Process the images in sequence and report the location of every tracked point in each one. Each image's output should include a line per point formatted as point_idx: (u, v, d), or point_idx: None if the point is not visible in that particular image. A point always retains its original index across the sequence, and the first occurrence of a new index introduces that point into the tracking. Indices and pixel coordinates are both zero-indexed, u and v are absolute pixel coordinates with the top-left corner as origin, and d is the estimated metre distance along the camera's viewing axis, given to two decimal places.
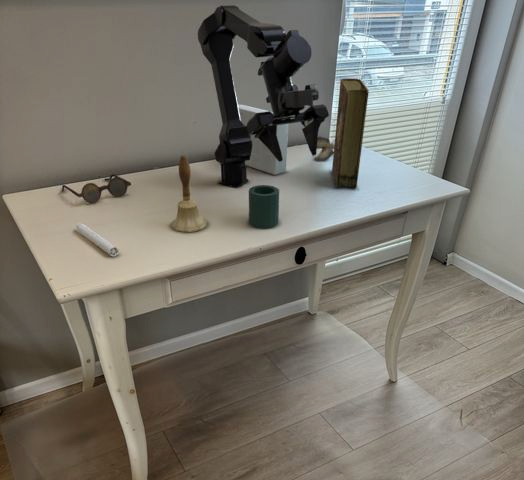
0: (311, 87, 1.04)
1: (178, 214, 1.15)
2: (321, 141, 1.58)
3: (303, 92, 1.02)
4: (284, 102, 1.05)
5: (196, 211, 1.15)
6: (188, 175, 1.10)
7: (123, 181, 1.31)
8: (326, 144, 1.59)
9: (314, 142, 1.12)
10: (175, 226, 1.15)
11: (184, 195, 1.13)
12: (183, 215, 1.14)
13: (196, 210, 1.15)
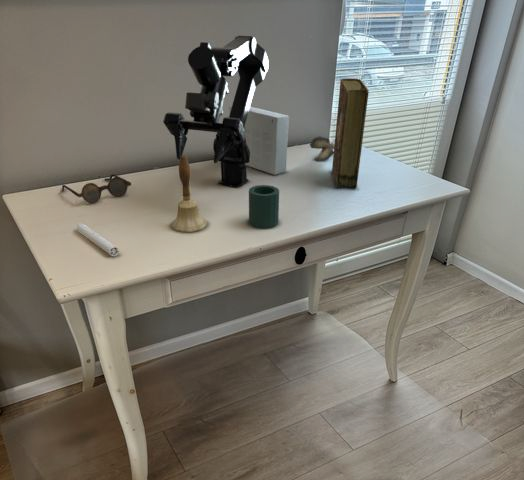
0: (209, 93, 1.09)
1: (178, 214, 1.15)
2: (321, 141, 1.58)
3: (193, 94, 1.08)
4: None
5: (196, 211, 1.15)
6: (188, 175, 1.10)
7: (123, 181, 1.31)
8: (326, 144, 1.59)
9: (216, 150, 1.13)
10: (175, 226, 1.15)
11: (184, 195, 1.13)
12: (183, 215, 1.14)
13: (196, 210, 1.15)
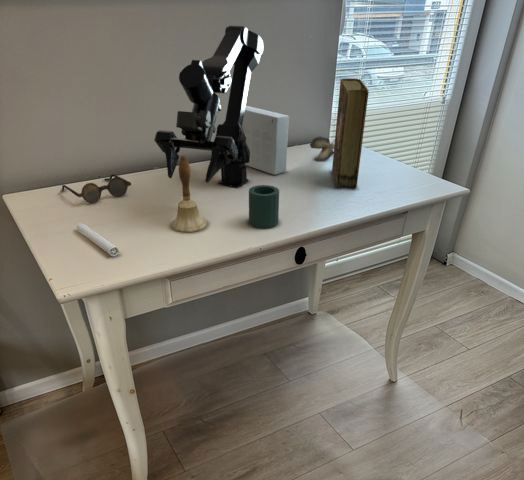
0: (200, 112, 1.06)
1: (178, 214, 1.15)
2: (321, 141, 1.58)
3: (184, 113, 1.06)
4: None
5: (196, 211, 1.15)
6: (188, 175, 1.10)
7: (123, 181, 1.31)
8: (326, 144, 1.59)
9: (208, 169, 1.11)
10: (175, 226, 1.15)
11: (184, 195, 1.13)
12: (183, 215, 1.14)
13: (196, 210, 1.15)
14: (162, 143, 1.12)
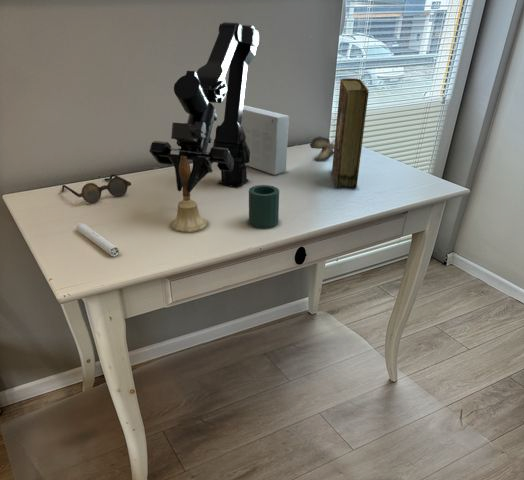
0: (196, 124, 1.05)
1: (178, 214, 1.15)
2: (321, 141, 1.58)
3: (179, 125, 1.05)
4: None
5: (196, 211, 1.15)
6: (188, 175, 1.10)
7: (123, 181, 1.31)
8: (326, 144, 1.59)
9: (189, 179, 1.11)
10: (175, 226, 1.15)
11: (184, 195, 1.13)
12: (183, 215, 1.14)
13: (196, 210, 1.15)
14: (171, 156, 1.10)
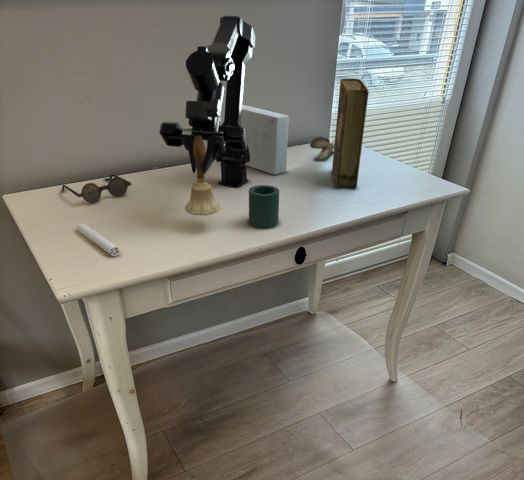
0: (211, 101, 1.02)
1: (192, 197, 1.11)
2: (321, 141, 1.58)
3: (194, 103, 1.01)
4: None
5: (211, 193, 1.12)
6: (203, 156, 1.07)
7: (123, 181, 1.31)
8: (326, 144, 1.59)
9: (205, 160, 1.07)
10: (190, 210, 1.12)
11: (199, 177, 1.09)
12: (198, 198, 1.11)
13: (211, 192, 1.12)
14: (184, 136, 1.07)
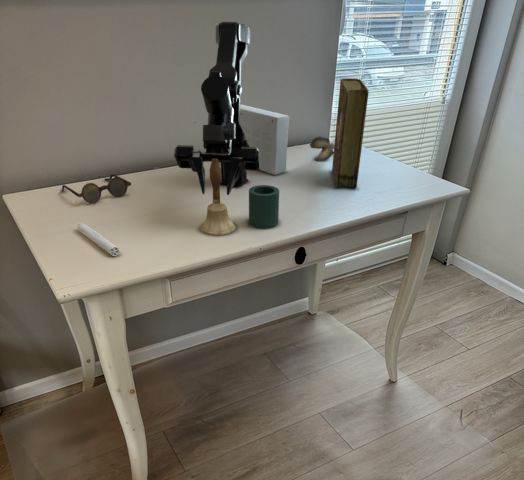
0: (227, 124, 1.04)
1: (209, 218, 1.14)
2: (321, 141, 1.58)
3: (211, 127, 1.03)
4: None
5: (227, 213, 1.14)
6: (220, 177, 1.09)
7: (123, 181, 1.31)
8: (326, 144, 1.59)
9: (228, 181, 1.09)
10: (208, 230, 1.14)
11: (215, 198, 1.12)
12: (215, 218, 1.13)
13: (227, 212, 1.14)
14: (192, 158, 1.08)
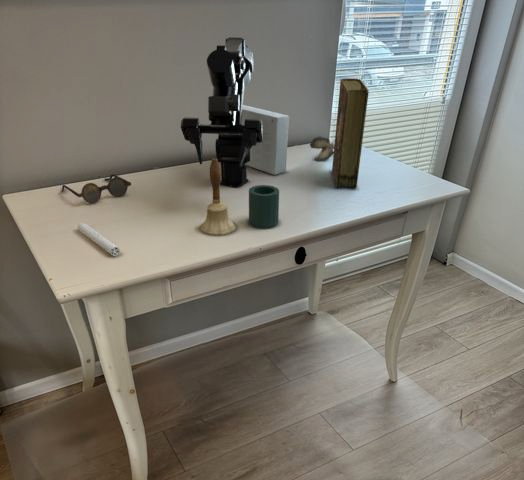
0: (231, 96, 1.09)
1: (209, 218, 1.14)
2: (321, 141, 1.58)
3: (216, 98, 1.08)
4: None
5: (227, 213, 1.14)
6: (220, 177, 1.09)
7: (123, 181, 1.31)
8: (326, 144, 1.59)
9: (240, 152, 1.14)
10: (208, 230, 1.14)
11: (215, 198, 1.12)
12: (215, 218, 1.13)
13: (227, 213, 1.14)
14: (190, 130, 1.13)
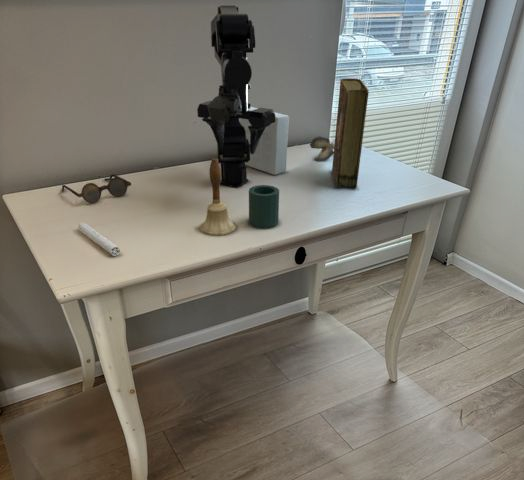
0: (227, 104, 1.09)
1: (209, 218, 1.14)
2: (321, 141, 1.58)
3: (213, 109, 1.10)
4: None
5: (227, 213, 1.14)
6: (220, 177, 1.09)
7: (123, 181, 1.31)
8: (326, 144, 1.59)
9: (250, 144, 1.18)
10: (208, 230, 1.14)
11: (215, 198, 1.12)
12: (215, 218, 1.13)
13: (226, 212, 1.14)
14: (205, 121, 1.19)
